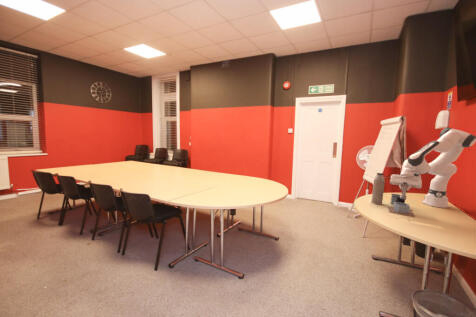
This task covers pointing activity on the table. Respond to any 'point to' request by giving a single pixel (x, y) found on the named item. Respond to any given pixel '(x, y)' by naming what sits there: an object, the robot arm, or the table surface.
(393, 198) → the small box
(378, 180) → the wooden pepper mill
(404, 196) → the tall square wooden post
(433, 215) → the table surface
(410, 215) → the serving board
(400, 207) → the utensil crock
